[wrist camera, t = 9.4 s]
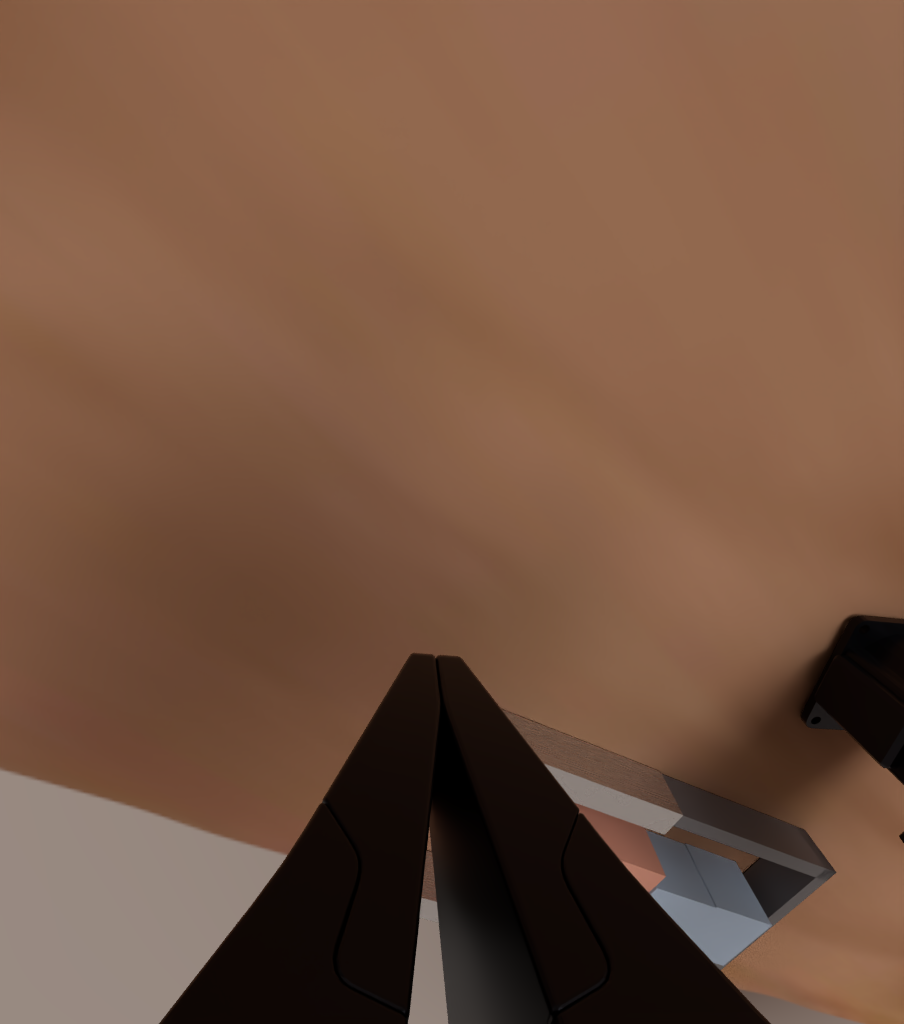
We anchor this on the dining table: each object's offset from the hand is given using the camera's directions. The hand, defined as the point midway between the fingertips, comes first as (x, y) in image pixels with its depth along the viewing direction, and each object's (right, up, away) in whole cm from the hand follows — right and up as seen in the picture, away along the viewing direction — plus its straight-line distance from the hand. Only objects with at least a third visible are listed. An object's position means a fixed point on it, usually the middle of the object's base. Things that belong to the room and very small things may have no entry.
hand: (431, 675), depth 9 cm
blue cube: (+11, -17, +21) cm, 30 cm away
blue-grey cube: (+15, -19, +22) cm, 33 cm away
